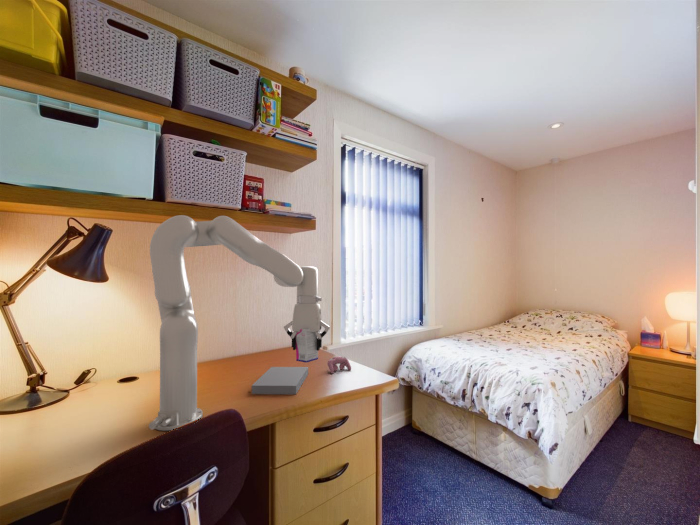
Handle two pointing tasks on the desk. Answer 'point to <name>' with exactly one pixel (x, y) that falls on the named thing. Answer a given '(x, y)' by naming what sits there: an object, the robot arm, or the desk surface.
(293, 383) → the riser
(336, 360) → the pink toy elephant
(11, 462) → the desk surface
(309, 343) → the supplement box
